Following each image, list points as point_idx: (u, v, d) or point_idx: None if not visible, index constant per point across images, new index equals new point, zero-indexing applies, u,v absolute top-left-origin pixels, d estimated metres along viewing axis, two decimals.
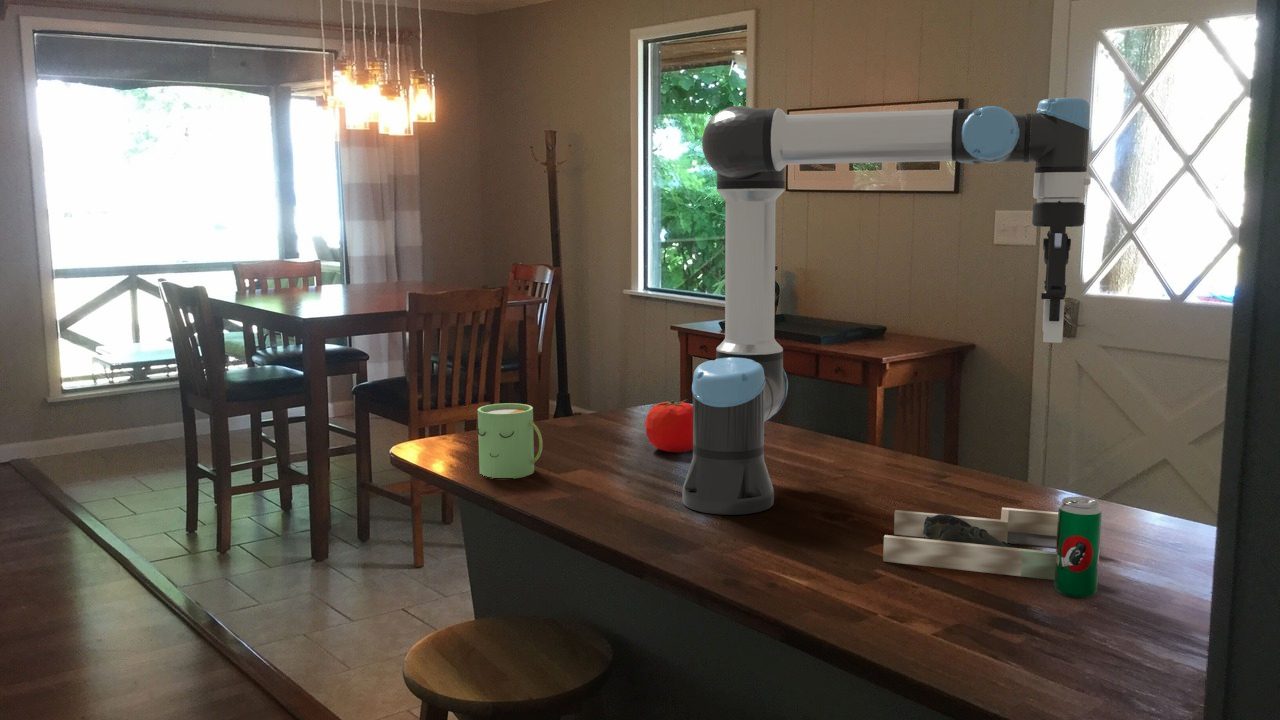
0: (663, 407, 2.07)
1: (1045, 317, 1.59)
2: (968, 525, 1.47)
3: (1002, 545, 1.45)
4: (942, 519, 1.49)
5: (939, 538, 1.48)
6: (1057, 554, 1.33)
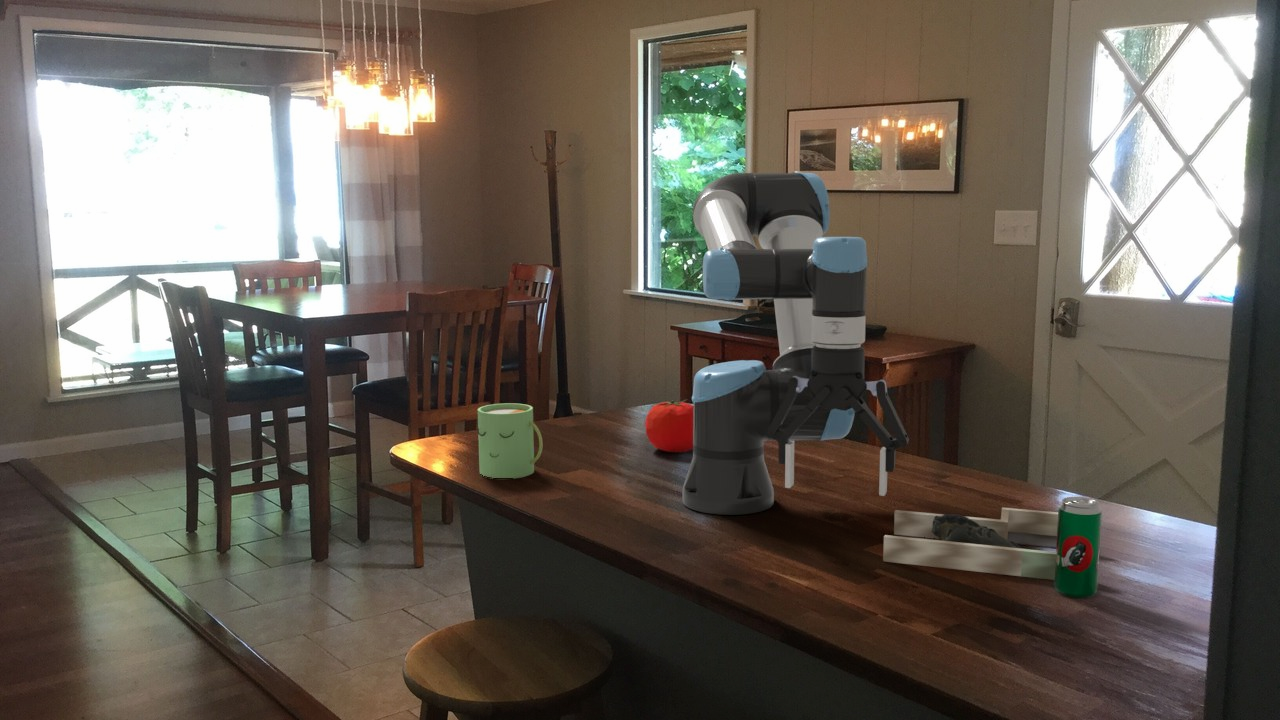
0: (663, 407, 2.07)
1: None
2: (976, 524, 1.48)
3: (1010, 545, 1.45)
4: (950, 518, 1.49)
5: (947, 537, 1.48)
6: (1057, 554, 1.33)
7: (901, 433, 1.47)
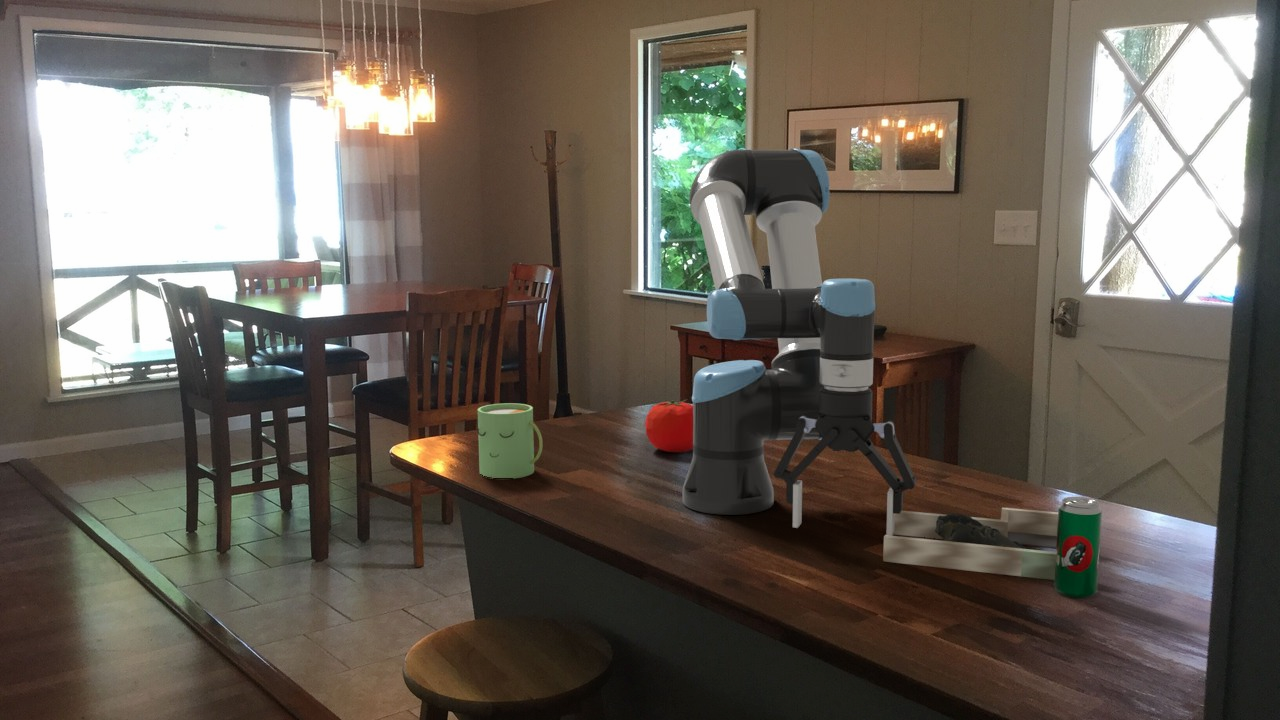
0: (663, 407, 2.07)
1: None
2: (980, 524, 1.48)
3: (1013, 545, 1.45)
4: (954, 518, 1.49)
5: (950, 537, 1.48)
6: (1057, 554, 1.33)
7: (908, 475, 1.48)
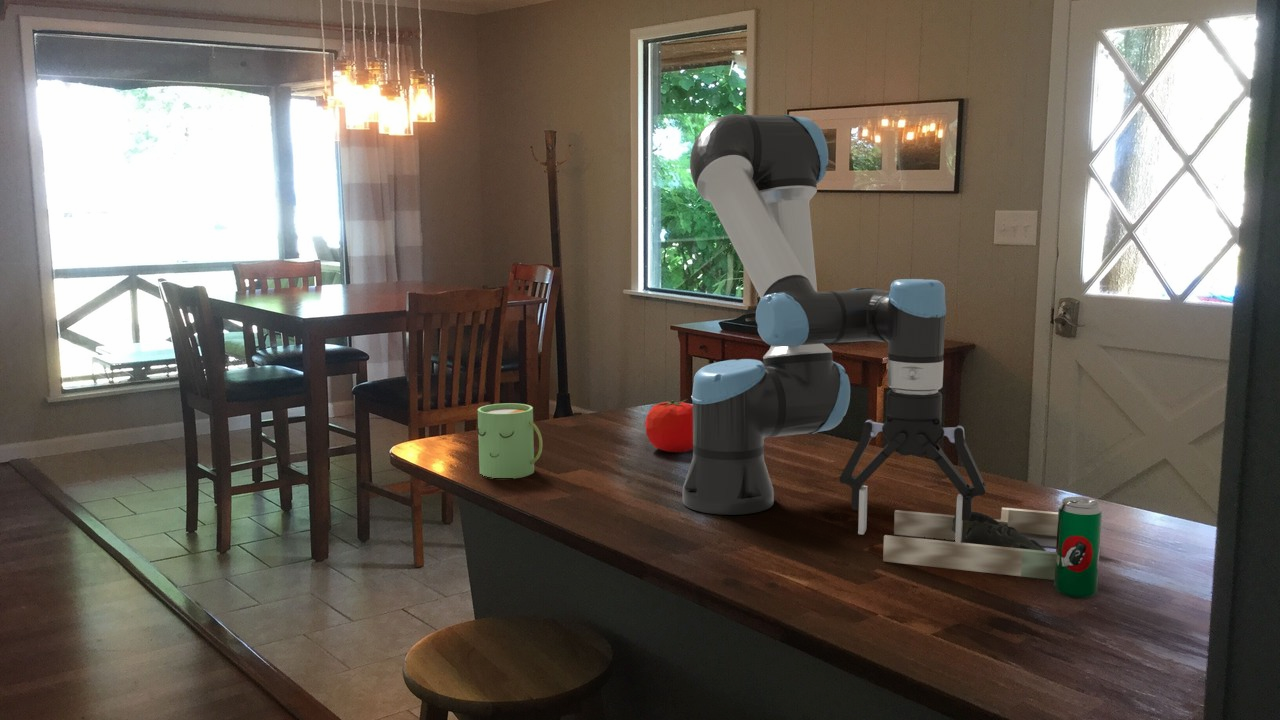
0: (663, 407, 2.07)
1: None
2: (996, 523, 1.48)
3: (1030, 543, 1.45)
4: None
5: (967, 535, 1.48)
6: (1057, 554, 1.33)
7: (979, 481, 1.44)
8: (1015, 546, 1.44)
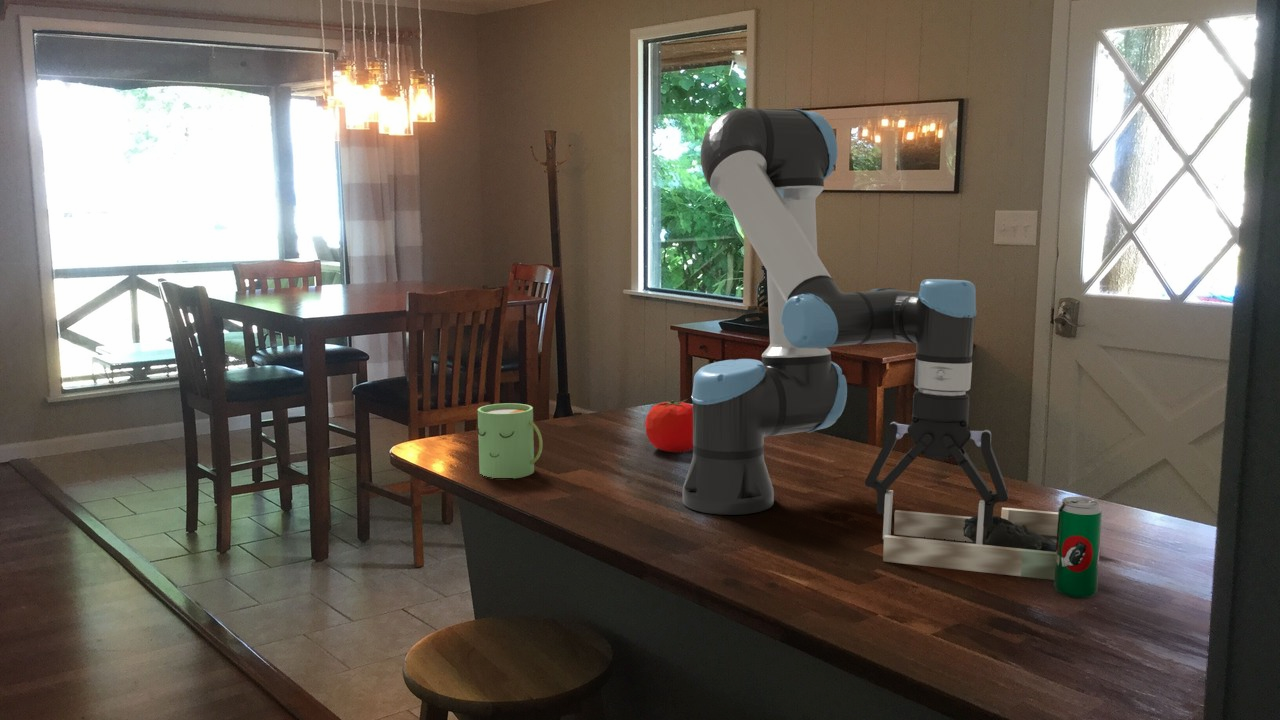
0: (663, 407, 2.07)
1: None
2: (1011, 523, 1.48)
3: (1046, 539, 1.47)
4: None
5: (987, 539, 1.47)
6: (1057, 554, 1.33)
7: (1002, 487, 1.43)
8: (1038, 544, 1.45)
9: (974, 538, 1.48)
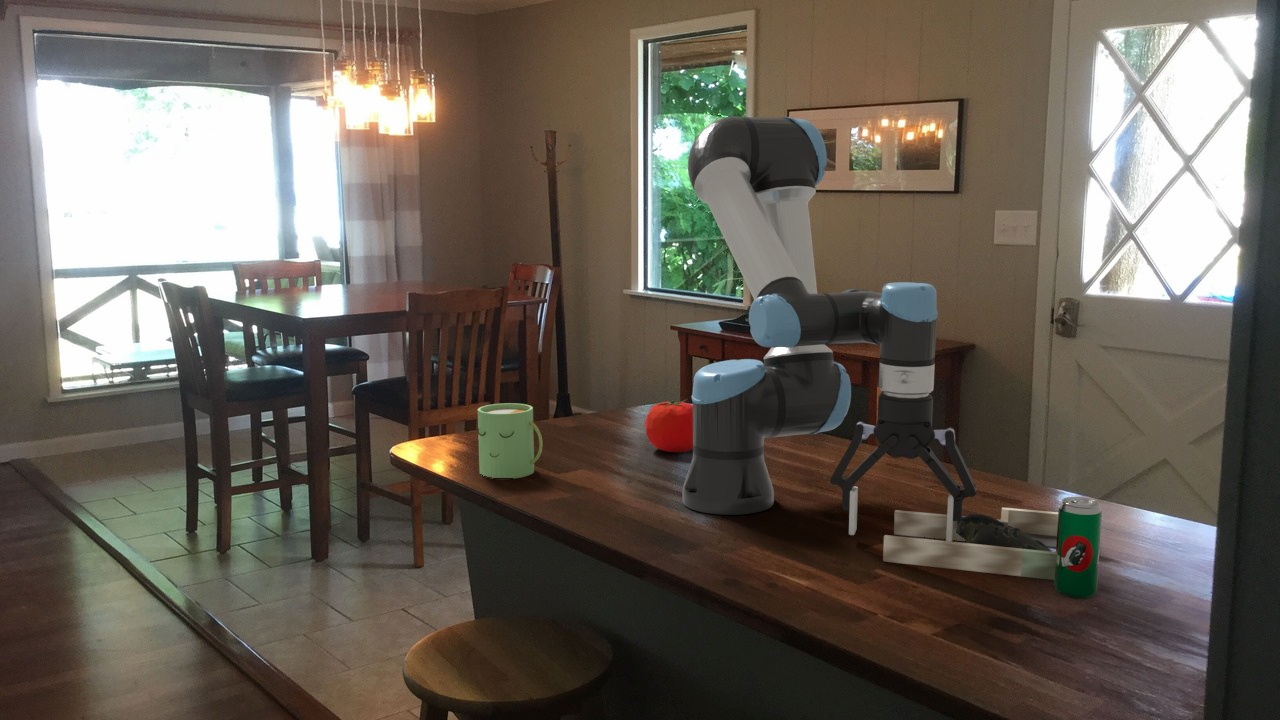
0: (663, 407, 2.07)
1: None
2: (1002, 524, 1.48)
3: (1036, 544, 1.45)
4: (975, 518, 1.49)
5: (973, 537, 1.48)
6: (1057, 554, 1.33)
7: (970, 483, 1.46)
8: (1023, 547, 1.44)
9: (963, 536, 1.49)
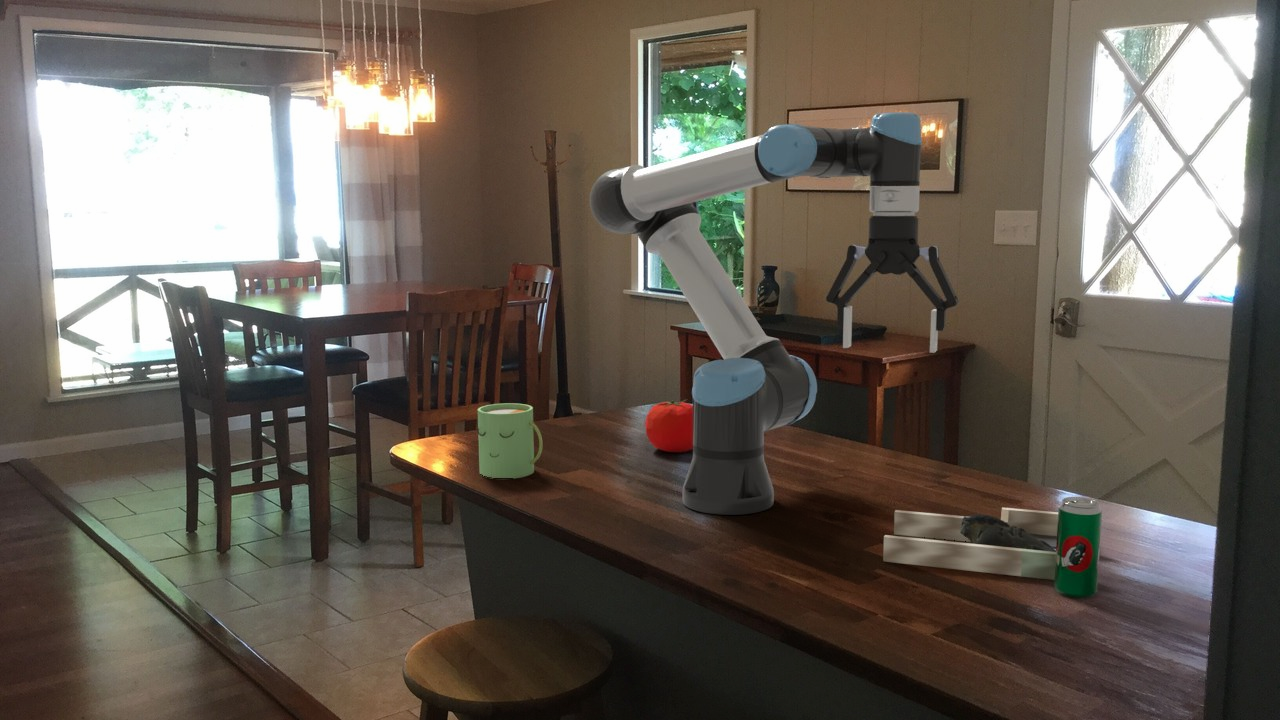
0: (663, 407, 2.07)
1: None
2: (1007, 525, 1.47)
3: (1042, 544, 1.45)
4: (980, 519, 1.49)
5: (978, 538, 1.48)
6: (1057, 554, 1.33)
7: (951, 294, 1.61)
8: (1028, 548, 1.44)
9: (968, 536, 1.49)
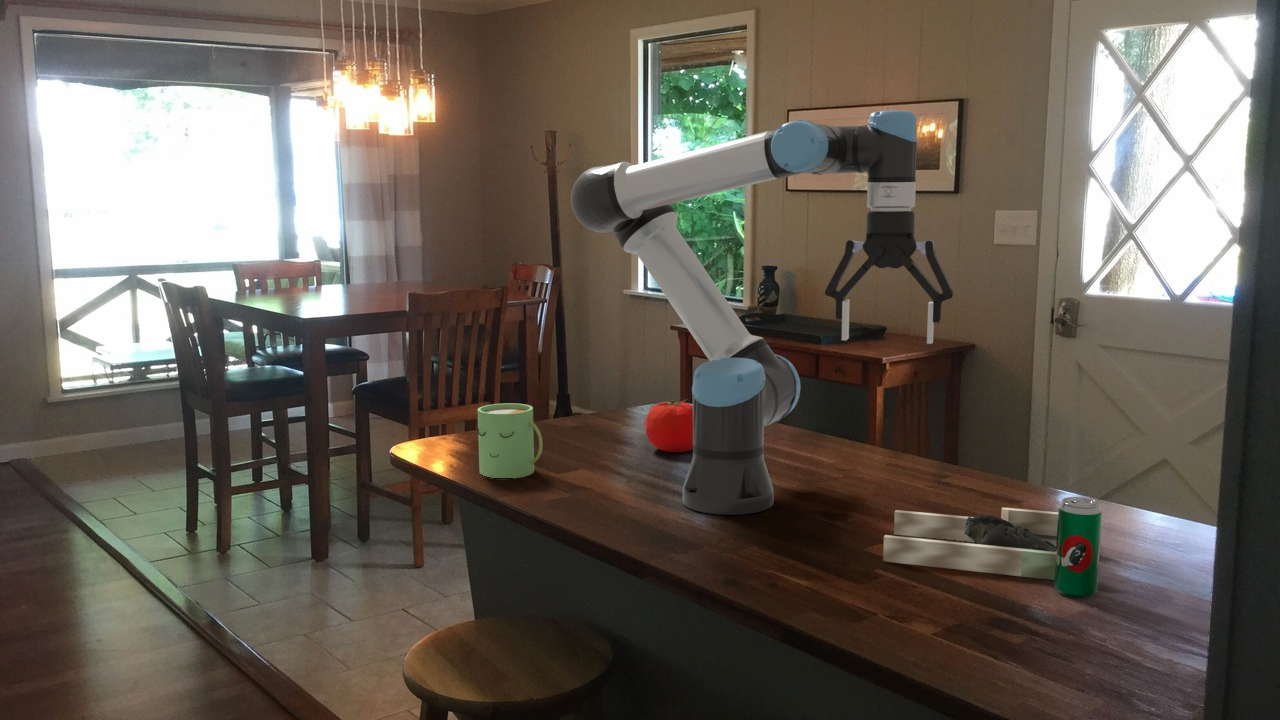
0: (663, 407, 2.07)
1: None
2: (1011, 525, 1.47)
3: (1046, 544, 1.45)
4: (984, 519, 1.49)
5: (982, 538, 1.47)
6: (1057, 554, 1.33)
7: (947, 286, 1.66)
8: (1033, 548, 1.44)
9: (972, 537, 1.49)
